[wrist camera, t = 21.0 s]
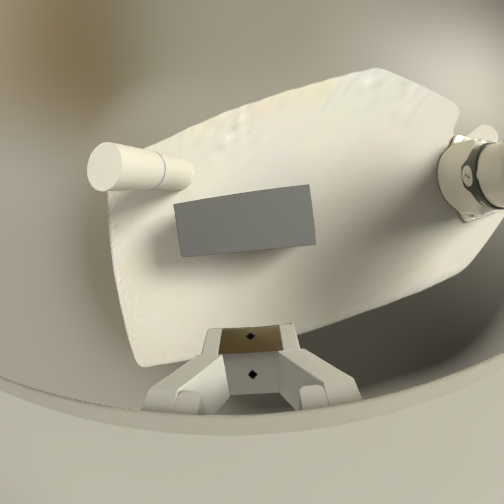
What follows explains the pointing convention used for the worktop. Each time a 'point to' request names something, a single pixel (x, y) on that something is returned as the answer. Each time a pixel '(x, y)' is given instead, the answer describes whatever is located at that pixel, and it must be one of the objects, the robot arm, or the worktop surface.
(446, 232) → the worktop surface
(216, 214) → the control panel
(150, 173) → the cylindrical container
